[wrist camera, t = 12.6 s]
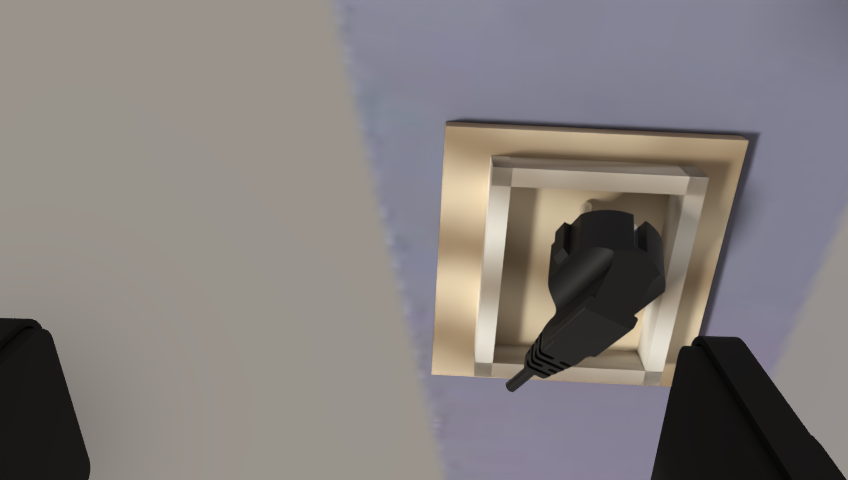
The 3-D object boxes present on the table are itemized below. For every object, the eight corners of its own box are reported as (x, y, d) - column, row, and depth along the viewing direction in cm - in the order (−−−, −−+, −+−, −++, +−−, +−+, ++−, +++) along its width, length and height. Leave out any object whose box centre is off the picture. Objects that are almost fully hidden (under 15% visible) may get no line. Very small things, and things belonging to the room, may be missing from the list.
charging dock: (445, 121, 34) (445, 135, 32) (740, 135, 34) (766, 151, 32) (432, 365, 41) (431, 394, 38) (679, 377, 41) (695, 408, 38)
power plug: (466, 380, 36) (588, 265, 28) (484, 280, 41) (593, 158, 33) (551, 416, 37) (695, 317, 28) (559, 315, 42) (683, 204, 34)
